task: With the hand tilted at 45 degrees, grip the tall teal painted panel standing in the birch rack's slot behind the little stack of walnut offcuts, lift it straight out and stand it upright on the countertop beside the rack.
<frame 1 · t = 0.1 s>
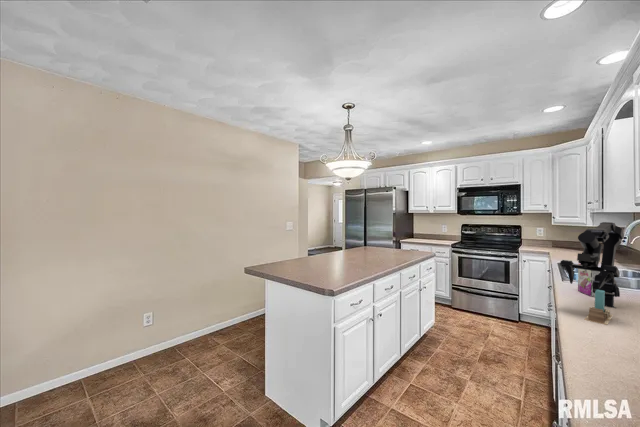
hand: (584, 285, 124), 15 cm above the countertop, tool tilted 35°, fingers open, 9 cm apart
candy bar box: (588, 294, 162), on the countertop
teal panel: (599, 316, 126), point 1 cm above the countertop, touching rack
rack: (598, 319, 124), on the countertop
offcut stack: (596, 320, 121), point 1 cm above the countertop, touching rack
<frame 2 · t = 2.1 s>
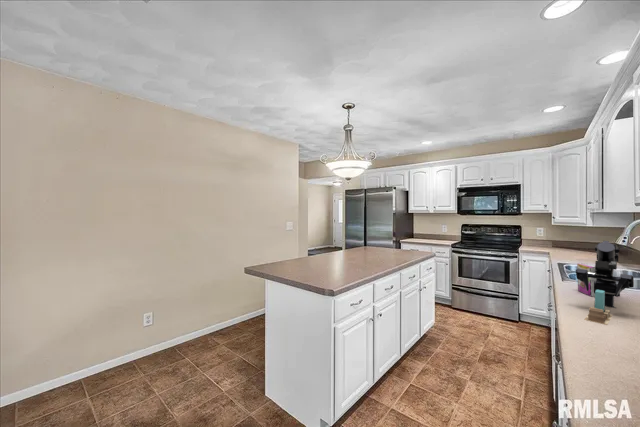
hand: (601, 292, 128), 11 cm above the countertop, tool tilted 45°, fingers open, 9 cm apart
nothing on the countertop moved.
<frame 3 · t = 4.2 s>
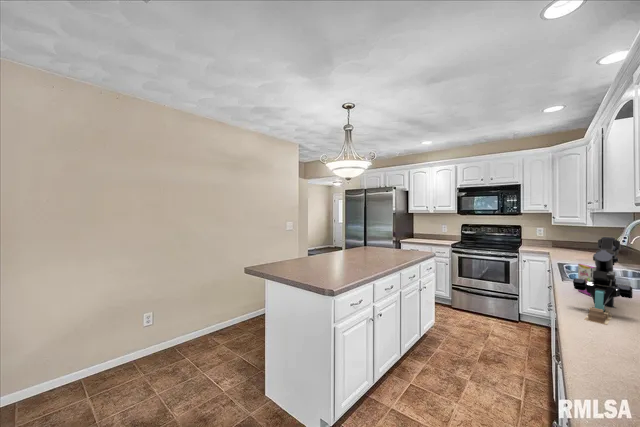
hand: (599, 303, 125), 7 cm above the countertop, tool tilted 45°, fingers closed on teal panel, 2 cm apart
teal panel: (599, 316, 126), point 1 cm above the countertop, touching gripper, rack
everything else where it was.
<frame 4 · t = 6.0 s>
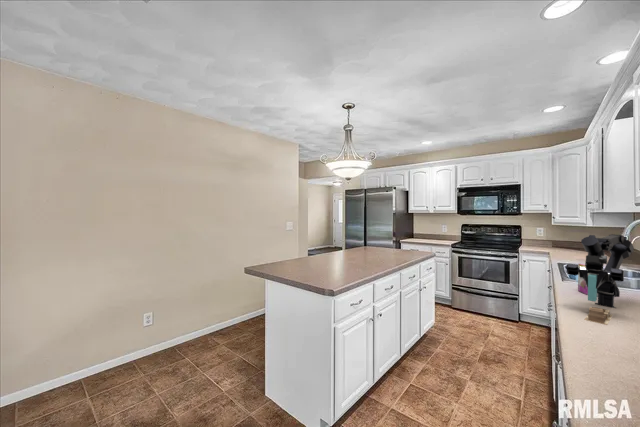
hand: (592, 287, 127), 13 cm above the countertop, tool tilted 45°, fingers closed on teal panel, 2 cm apart
teal panel: (592, 299, 128), point 8 cm above the countertop, touching gripper
everything else where it was.
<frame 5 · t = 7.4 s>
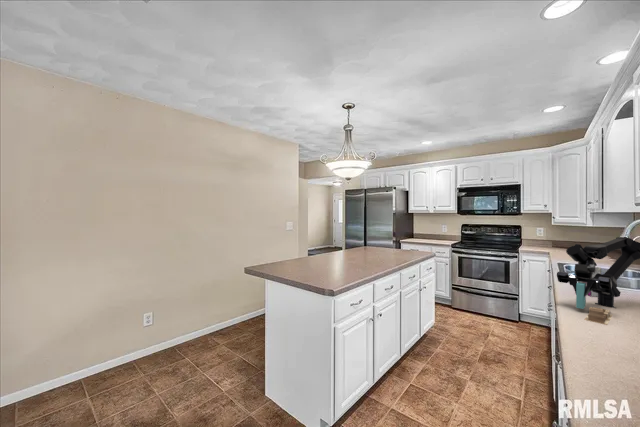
hand: (580, 295, 131), 9 cm above the countertop, tool tilted 45°, fingers closed on teal panel, 2 cm apart
teal panel: (580, 307, 132), point 3 cm above the countertop, touching gripper
everything else where it was.
when the fingers open (7 cm above the countertop, at t = 8.1 s): teal panel stays where it is, on the countertop.
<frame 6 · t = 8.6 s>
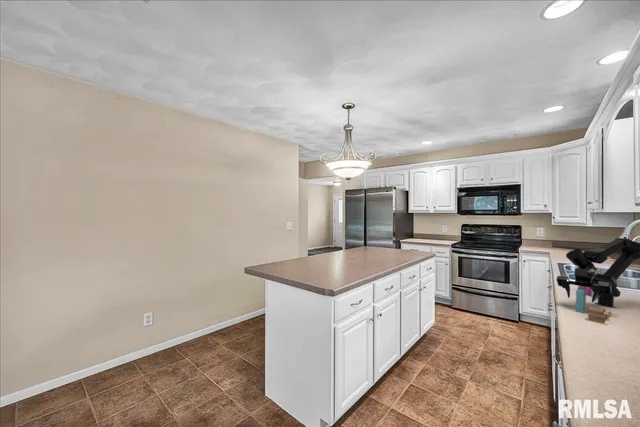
hand: (580, 299, 131), 7 cm above the countertop, tool tilted 45°, fingers open, 8 cm apart
teal panel: (580, 313, 132), on the countertop
everything else where it was.
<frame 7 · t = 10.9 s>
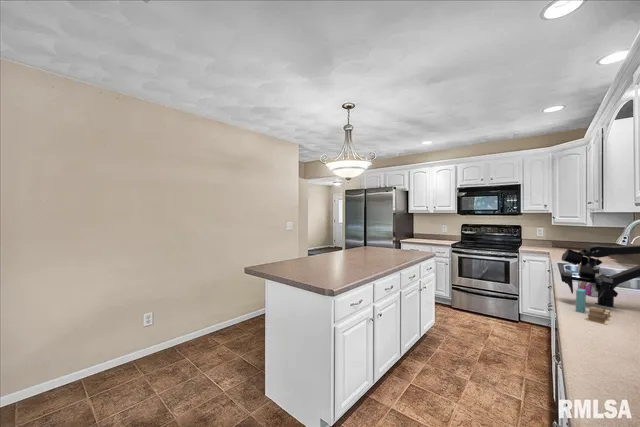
hand: (585, 295, 136), 7 cm above the countertop, tool tilted 40°, fingers open, 9 cm apart
nothing on the countertop moved.
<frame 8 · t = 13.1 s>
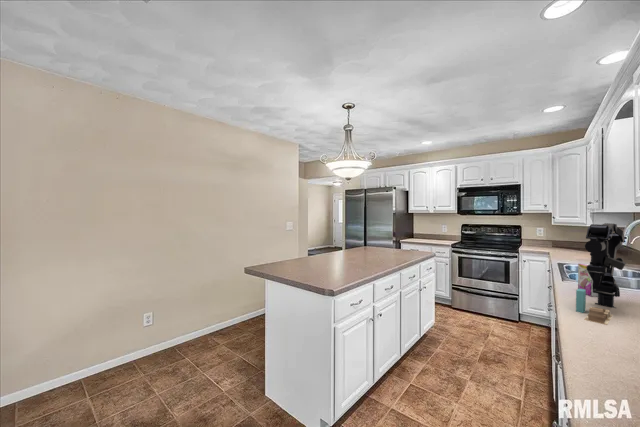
hand: (598, 284, 133), 13 cm above the countertop, tool pointing down, fingers open, 9 cm apart
nothing on the countertop moved.
at the end: teal panel inside the target area (0.1 cm from its centre), on the countertop; teal panel tilted 0°; the gripper is holding nothing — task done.
